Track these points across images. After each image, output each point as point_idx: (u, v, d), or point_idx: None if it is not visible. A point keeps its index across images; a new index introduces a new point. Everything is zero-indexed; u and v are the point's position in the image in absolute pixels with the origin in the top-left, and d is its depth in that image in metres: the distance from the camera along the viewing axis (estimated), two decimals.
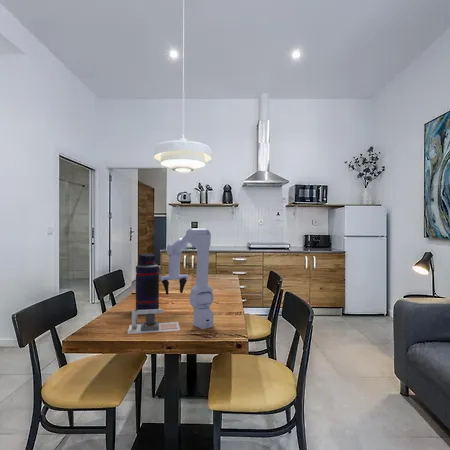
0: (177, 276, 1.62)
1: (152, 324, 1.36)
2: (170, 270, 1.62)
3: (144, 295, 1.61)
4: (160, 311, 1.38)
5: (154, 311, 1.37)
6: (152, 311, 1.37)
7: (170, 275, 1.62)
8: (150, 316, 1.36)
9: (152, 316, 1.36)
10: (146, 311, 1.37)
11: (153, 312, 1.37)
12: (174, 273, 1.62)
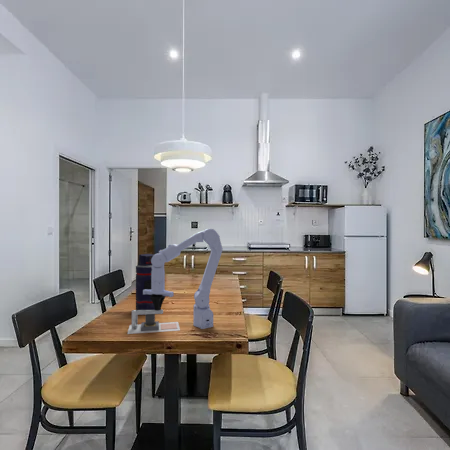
0: (155, 292, 1.37)
1: (152, 324, 1.36)
2: None
3: (144, 295, 1.61)
4: (160, 312, 1.37)
5: (154, 312, 1.37)
6: (152, 311, 1.36)
7: (151, 289, 1.39)
8: (150, 316, 1.36)
9: (152, 316, 1.36)
10: (146, 311, 1.36)
11: (153, 312, 1.37)
12: (152, 288, 1.38)
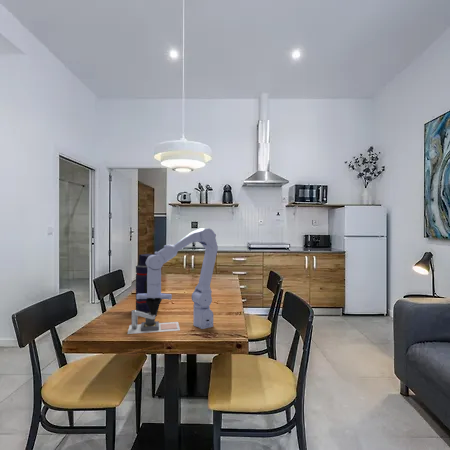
0: (154, 295, 1.30)
1: (152, 324, 1.36)
2: (147, 287, 1.32)
3: None
4: (150, 317, 1.29)
5: (146, 315, 1.31)
6: (145, 315, 1.31)
7: (147, 293, 1.31)
8: None
9: None
10: (140, 313, 1.33)
11: (145, 316, 1.31)
12: (150, 291, 1.30)
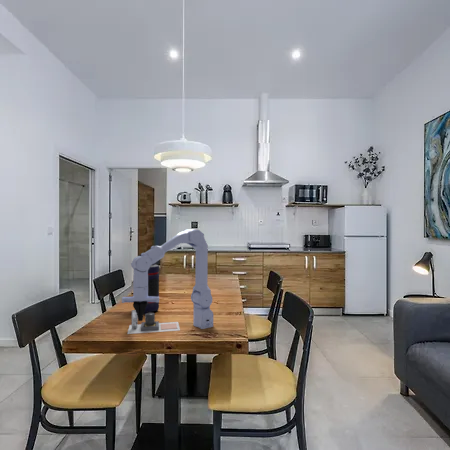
0: (141, 298, 1.24)
1: (152, 324, 1.36)
2: (133, 290, 1.26)
3: None
4: (133, 319, 1.26)
5: (133, 317, 1.28)
6: (132, 316, 1.29)
7: (133, 296, 1.25)
8: (150, 316, 1.36)
9: (152, 316, 1.36)
10: (132, 314, 1.31)
11: None
12: (137, 294, 1.24)
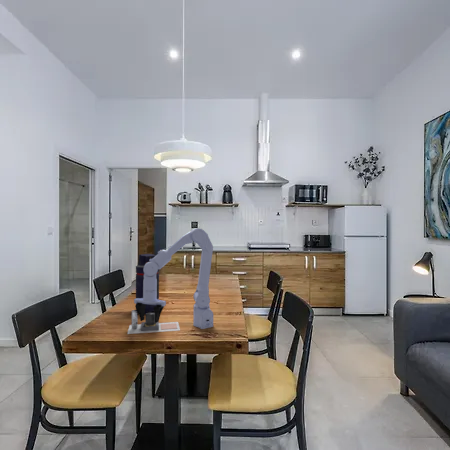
0: (147, 301, 1.35)
1: (153, 324, 1.37)
2: (143, 293, 1.37)
3: None
4: (132, 319, 1.26)
5: (133, 317, 1.28)
6: (132, 316, 1.29)
7: (143, 298, 1.37)
8: (151, 316, 1.36)
9: (153, 316, 1.37)
10: (132, 314, 1.31)
11: None
12: (144, 297, 1.35)
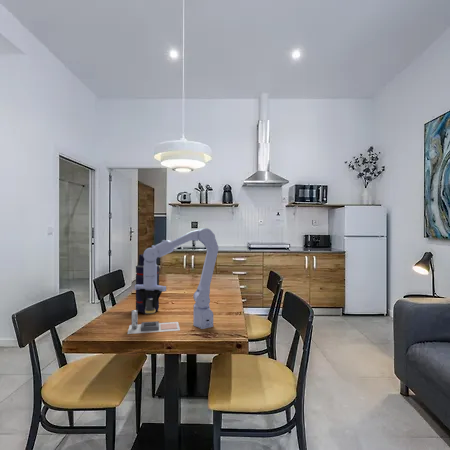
0: (148, 287, 1.35)
1: (153, 309, 1.37)
2: None
3: None
4: (132, 319, 1.26)
5: (132, 317, 1.28)
6: (132, 316, 1.29)
7: None
8: (151, 301, 1.36)
9: None
10: (132, 314, 1.31)
11: None
12: (145, 282, 1.35)
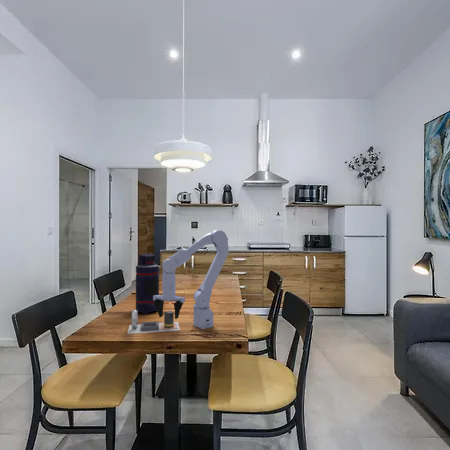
0: (167, 298, 1.37)
1: (171, 322, 1.38)
2: (162, 289, 1.39)
3: (144, 295, 1.61)
4: (132, 319, 1.26)
5: (132, 317, 1.28)
6: (132, 316, 1.29)
7: (162, 295, 1.39)
8: (170, 314, 1.38)
9: (172, 314, 1.38)
10: (132, 314, 1.31)
11: None
12: (164, 293, 1.37)
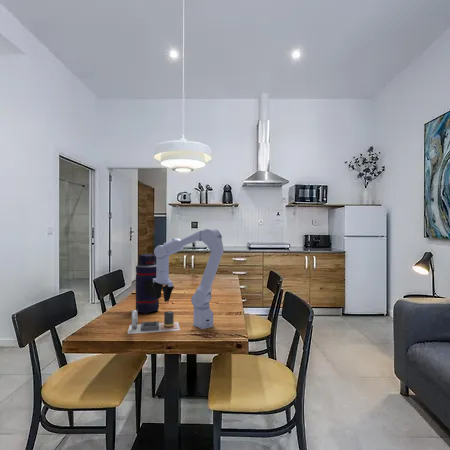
0: (158, 281, 1.46)
1: (171, 322, 1.38)
2: None
3: (144, 295, 1.61)
4: (132, 319, 1.26)
5: (132, 317, 1.28)
6: (132, 316, 1.29)
7: None
8: (170, 314, 1.38)
9: (171, 314, 1.38)
10: (132, 314, 1.31)
11: None
12: (156, 277, 1.47)
